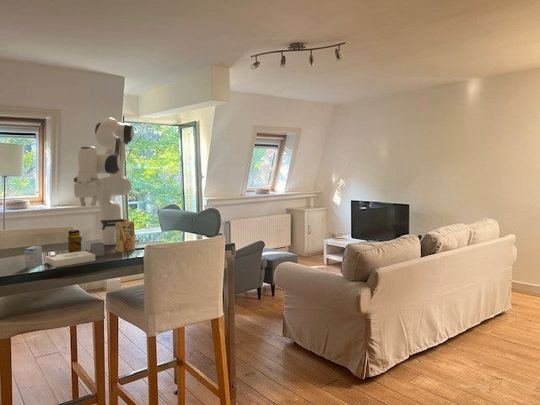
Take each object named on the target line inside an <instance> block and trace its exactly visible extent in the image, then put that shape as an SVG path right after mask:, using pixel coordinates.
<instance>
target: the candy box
mask: <svg viewBox="0 0 540 405" xmlns="http://www.w3.org/2000/svg"><path fill="white" fill-rule="evenodd" d="M115 225H116V252H117V253H124V252H129V251H135V250H136V242H135V237H136V234H134V233H135V222H134V221H132V220H131V221H129V220H127V222H120V223H115Z"/></svg>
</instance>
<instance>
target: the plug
mask: <svg viewBox="0 0 540 405" xmlns="http://www.w3.org/2000/svg"><path fill="white" fill-rule="evenodd" d="M89 245H90V253H93V254H95V257H101V256H105V254H106V253H105V245H104V243H101V242H100V241H98V242H91V243H89Z"/></svg>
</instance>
